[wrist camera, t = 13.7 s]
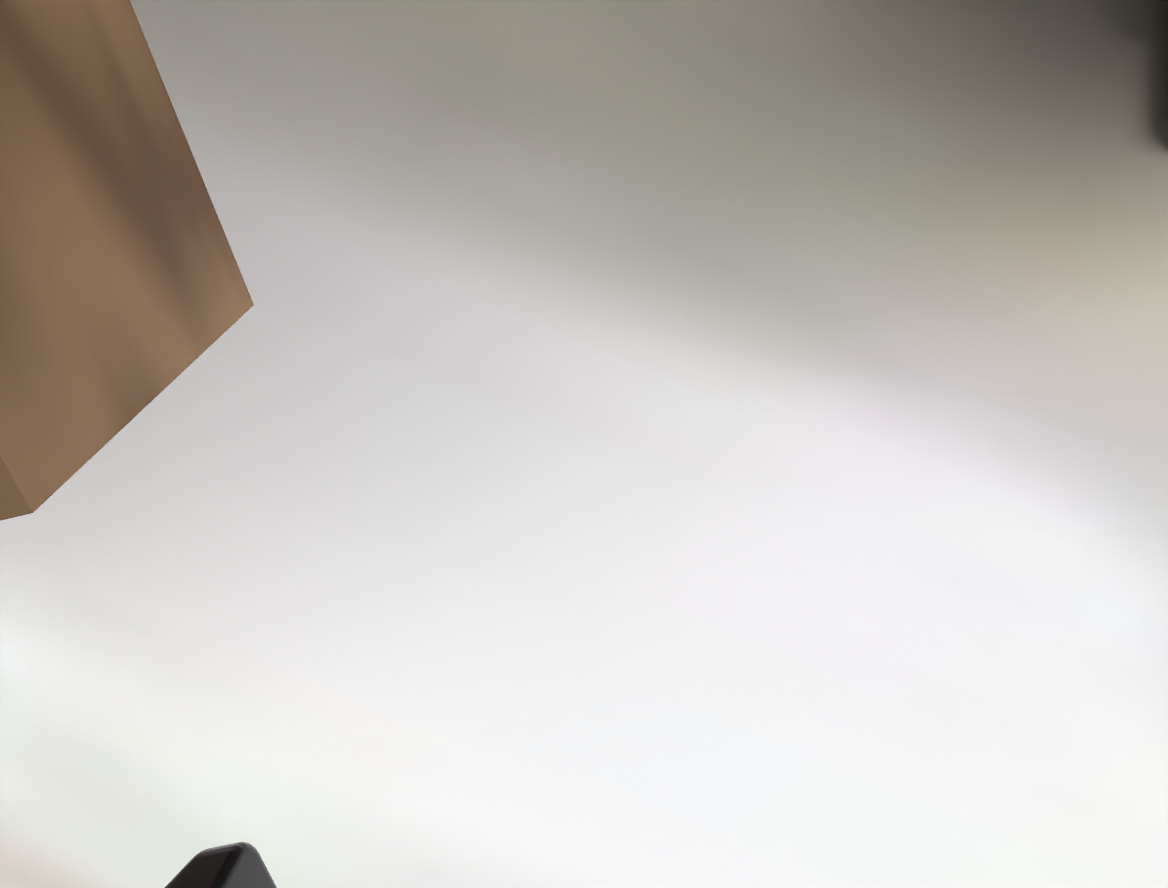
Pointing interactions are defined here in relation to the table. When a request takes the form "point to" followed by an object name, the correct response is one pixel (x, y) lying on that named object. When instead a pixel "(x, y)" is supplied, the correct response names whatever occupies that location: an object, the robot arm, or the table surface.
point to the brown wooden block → (94, 241)
